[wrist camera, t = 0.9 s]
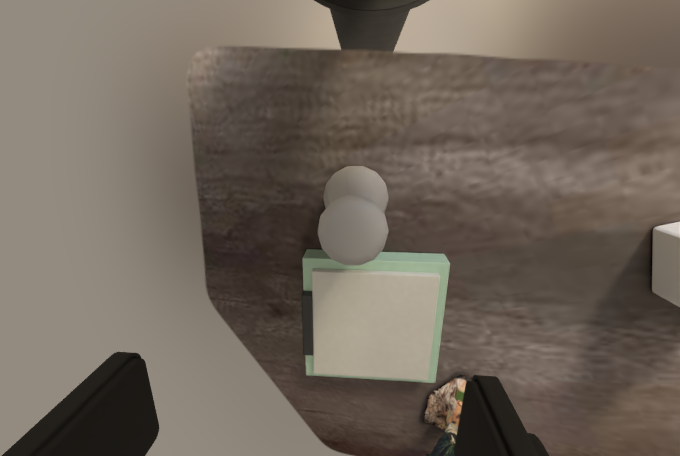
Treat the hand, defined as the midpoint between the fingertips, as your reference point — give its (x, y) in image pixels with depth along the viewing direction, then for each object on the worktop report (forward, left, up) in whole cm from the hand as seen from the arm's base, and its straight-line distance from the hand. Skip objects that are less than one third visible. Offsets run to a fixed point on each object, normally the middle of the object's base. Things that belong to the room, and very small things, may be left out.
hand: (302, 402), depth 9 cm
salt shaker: (-2, +1, -23) cm, 23 cm away
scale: (+11, +3, -23) cm, 26 cm away
